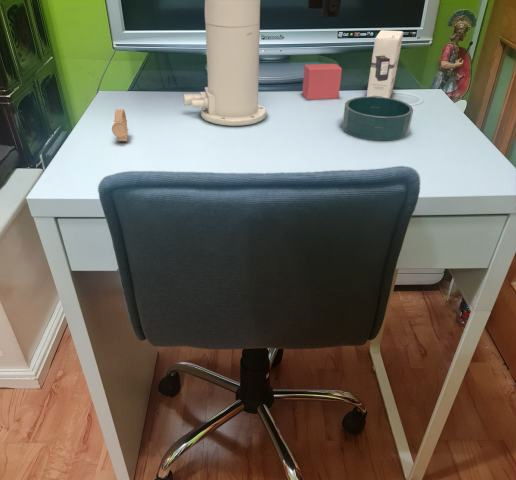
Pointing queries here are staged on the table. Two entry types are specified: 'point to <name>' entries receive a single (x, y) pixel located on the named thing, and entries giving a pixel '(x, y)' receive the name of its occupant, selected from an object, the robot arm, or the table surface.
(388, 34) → the ink box
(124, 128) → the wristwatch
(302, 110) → the table surface
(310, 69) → the eraser
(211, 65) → the robot arm
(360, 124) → the bowl
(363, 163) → the table surface
